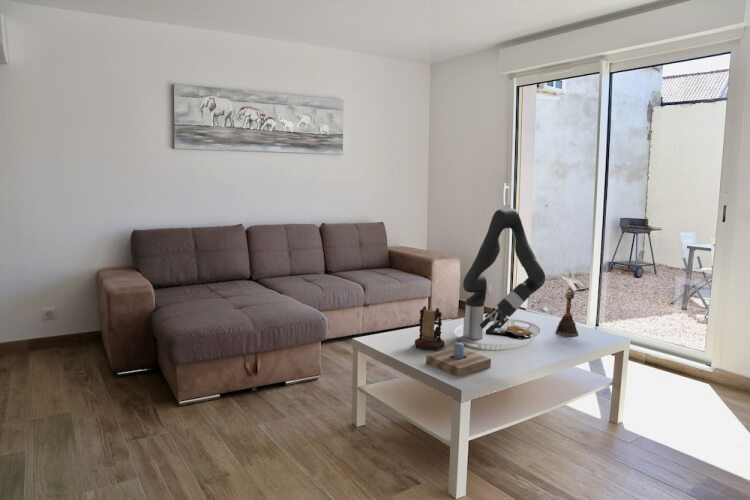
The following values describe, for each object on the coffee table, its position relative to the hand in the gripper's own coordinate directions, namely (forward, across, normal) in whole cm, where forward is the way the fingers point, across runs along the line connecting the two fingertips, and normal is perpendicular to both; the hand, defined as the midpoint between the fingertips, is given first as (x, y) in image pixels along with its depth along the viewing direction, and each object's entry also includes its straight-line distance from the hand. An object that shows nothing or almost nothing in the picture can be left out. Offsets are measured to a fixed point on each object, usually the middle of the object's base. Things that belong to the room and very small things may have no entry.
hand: (484, 329), depth 230 cm
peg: (+19, 0, +3) cm, 20 cm away
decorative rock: (-12, -42, +36) cm, 56 cm away
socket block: (+19, 0, +3) cm, 20 cm away
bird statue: (-34, -39, +57) cm, 77 cm away
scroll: (+24, -26, -1) cm, 36 cm away
